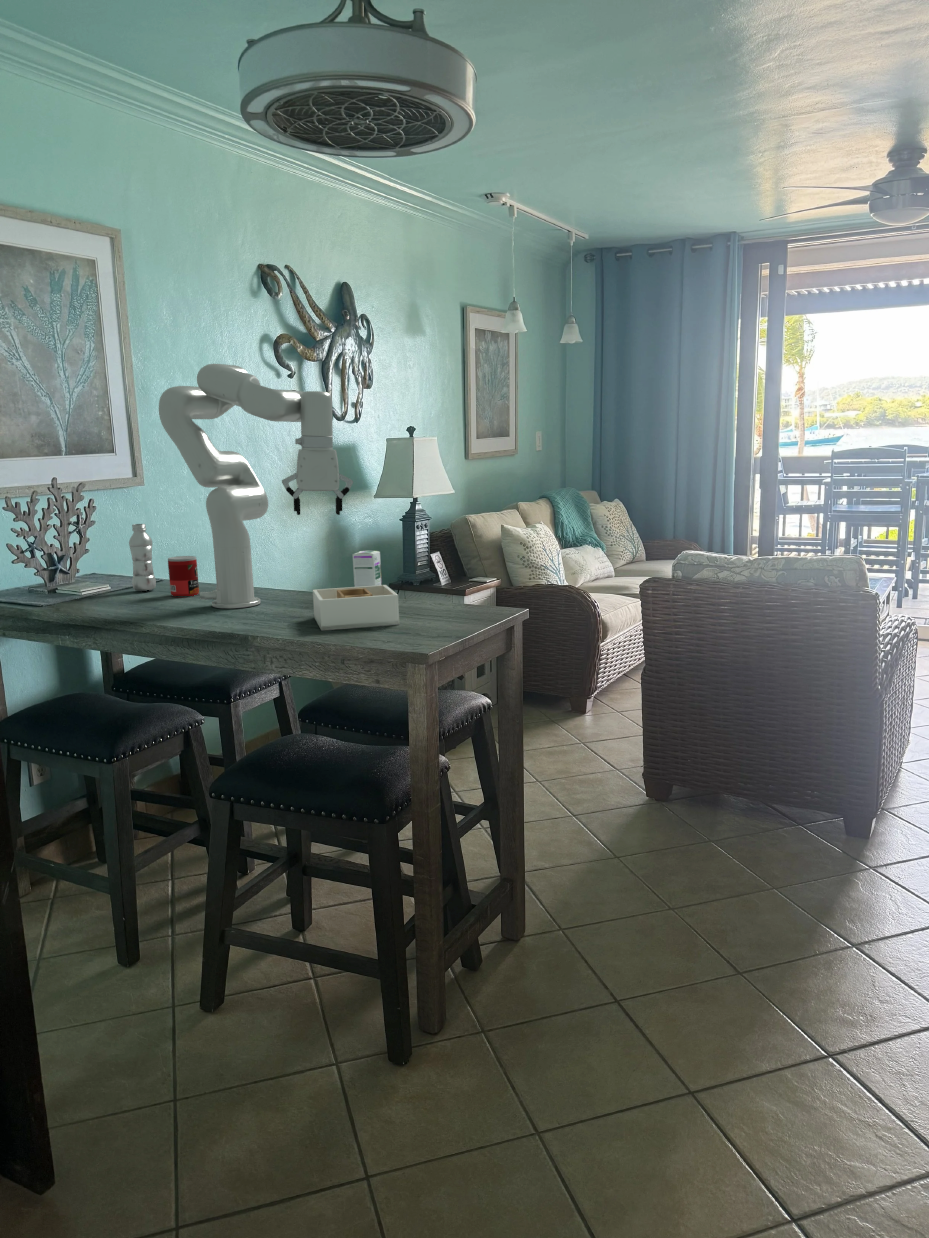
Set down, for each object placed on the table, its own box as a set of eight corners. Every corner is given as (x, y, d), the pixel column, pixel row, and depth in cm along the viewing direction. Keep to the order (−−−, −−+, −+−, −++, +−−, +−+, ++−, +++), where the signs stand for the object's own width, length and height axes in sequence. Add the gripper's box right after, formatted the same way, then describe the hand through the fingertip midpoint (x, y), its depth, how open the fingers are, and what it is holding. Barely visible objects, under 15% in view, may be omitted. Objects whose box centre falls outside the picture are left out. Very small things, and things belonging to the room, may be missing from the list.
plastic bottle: (132, 590, 266) (125, 524, 263) (156, 588, 269) (149, 522, 265) (133, 593, 261) (126, 525, 257) (157, 591, 263) (151, 524, 259)
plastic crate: (321, 630, 201) (319, 600, 200) (314, 617, 216) (312, 589, 215) (399, 624, 206) (398, 594, 204) (387, 612, 221) (385, 584, 219)
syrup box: (377, 609, 225) (374, 553, 222) (354, 609, 226) (352, 553, 224) (383, 605, 231) (381, 550, 228) (361, 605, 232) (359, 550, 229)
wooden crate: (343, 622, 205) (342, 596, 204) (337, 614, 215) (336, 590, 213) (373, 619, 207) (372, 594, 206) (366, 612, 216) (365, 588, 215)
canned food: (194, 597, 252) (191, 558, 250) (167, 597, 252) (163, 559, 250) (203, 592, 259) (199, 555, 257) (176, 593, 259) (172, 556, 257)
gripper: (281, 443, 209) (283, 516, 213) (354, 444, 213) (355, 515, 217) (280, 442, 216) (281, 513, 220) (350, 443, 220) (351, 512, 224)
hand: (318, 514), depth 218 cm, fingers open, 9 cm apart
